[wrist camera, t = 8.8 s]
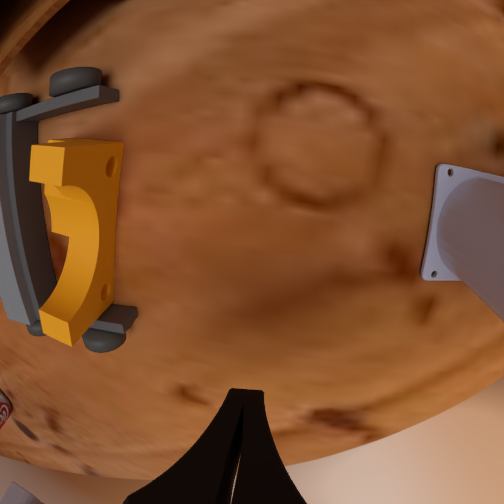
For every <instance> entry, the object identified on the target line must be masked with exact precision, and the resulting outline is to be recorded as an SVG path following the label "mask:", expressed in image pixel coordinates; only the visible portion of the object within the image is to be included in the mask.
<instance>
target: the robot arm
mask: <svg viewBox="0 0 504 504" xmlns="http://www.w3.org/2000/svg"><path fill="white" fill-rule="evenodd" d="M449 169H450V170H451V174H450V175H449V176H448V173H447V172H448V170H449ZM433 271H435V273H434V274H433V275H431V274H432V272H433ZM421 277H422V278H423V279H424V280H427V281H462V282H463V283H464V284H466V285H467V286H468V287H469V288H470V289H471V290H472V291H473V292H474V293H475V294H476V295H477V296H478V297H479V298H480V299H481V300H482V301H483V302H484V303H485V304H486V305H487V306H488V307H489V308H490V309H491V310H492V311H493V312H494V313H495V314H496V315H497V316H498V317H499V318H500V319H501V320H502V321H503V322H504V177H501V176H497V175H493V174H489V173H485V172H481V171H477V170H472V169H468V168H463V167H458V166H453V165H448V164H439V165H438V166H437V168H436V175H435V186H434V195H433V204H432V211H431V218H430V225H429V231H428V237H427V243H426V248H425V254H424V259H423V263H422V268H421ZM240 455H241V456H240ZM239 459H240V462H239ZM238 463H239V467H238ZM237 467H238V473H237V478H236V483H235V488H234V493H233V497H232V502H231V495H232V489H233V483H234V479H235V475H236V471H237ZM230 503H231V504H307V503H306V502H305V500H304V499H303V497H302V496H301V494H300V493H299V491H298V490H297V488H296V486H295V485H294V483H293V481H292V480H291V479H290V476H289V475H288V473H287V471H286V469H285V467H284V465H283V463H282V460H281V458H280V456H279V454H278V451H277V449H276V446H275V443H274V441H273V438H272V435H271V431H270V428H269V425H268V421H267V417H266V412H265V405H264V392H263V391H262V390H248V389H236V388H231V389H230V390H229V392H228V394H227V396H226V398H225V400H224V402H223V404H222V406H221V408H220V409H219V411H218V413H217V414H216V416H215V417H214V419H213V420H212V422H211V423H210V425H209V426H208V427H207V429H206V430H205V431H204V433H203V434H202V435H201V436H200V438H199V439H198V440H197V441H196V443H195V444H194V445H193V446H192V447H191V448H190V449H189V450H188V451H187V452H186V453H185V454H184V455H183V456H182V457H181V458H180V459H179V460H178V461H177V462H176V463H175V464H174V465H173V466H172V467H170V468H169V469H168V470H167V471H165V472H164V473H163V474H161V475H160V476H159V477H157V478H156V479H155V480H153V481H152V482H150V483H149V484H147V485H146V486H144V487H143V488H141V489H139V490H137V491H136V492H134V493H132V494H130V495H129V496H128V497H127V498H126V499H125V501H124V502H123V504H230ZM0 504H44V503H42V502H40V500H39V499H38V498H36V497H35V496H34V495H33V494H31V493H30V492H28V491H27V490H25V489H24V488H22V487H20V486H19V485H18V484H16V483H15V482H12V483H11V484H10V486H9V488H8V490H7V491H6V493H5V495H4V496H3V498H2V500H1V502H0Z"/></svg>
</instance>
